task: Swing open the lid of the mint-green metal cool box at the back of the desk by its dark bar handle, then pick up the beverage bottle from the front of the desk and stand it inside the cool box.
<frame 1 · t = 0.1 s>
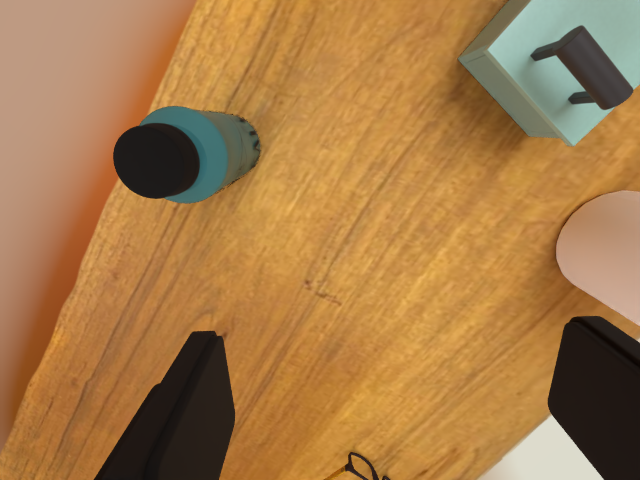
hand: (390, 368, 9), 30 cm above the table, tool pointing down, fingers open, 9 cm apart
beverage bottle: (236, 144, 37), on the table
lid: (623, 22, 24), point 10 cm above the table, hinge at 0.0°
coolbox: (543, 47, 33), on the table
can: (603, 239, 40), on the table
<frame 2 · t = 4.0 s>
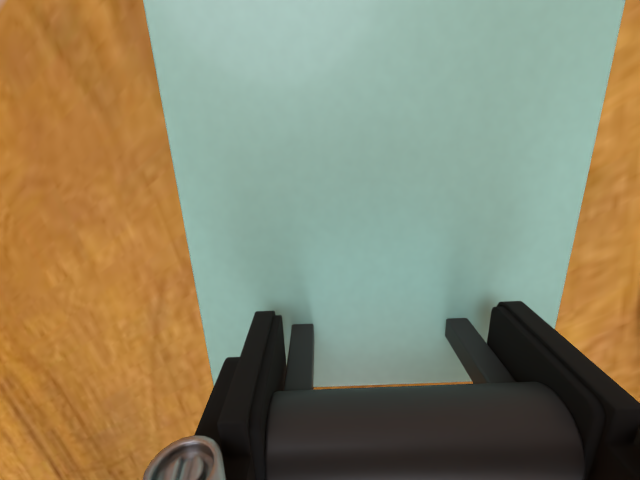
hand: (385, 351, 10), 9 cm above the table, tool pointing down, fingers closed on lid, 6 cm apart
lid: (397, 216, 8), point 10 cm above the table, hinge at 0.0°, touching gripper
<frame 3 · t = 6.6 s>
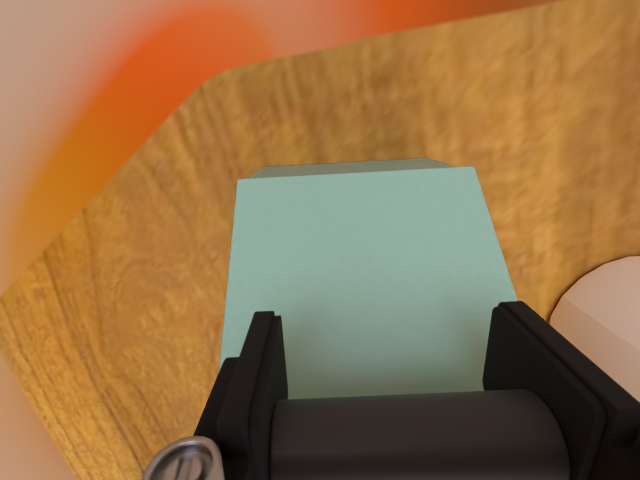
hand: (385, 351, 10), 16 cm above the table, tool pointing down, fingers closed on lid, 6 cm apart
lid: (375, 287, 11), point 14 cm above the table, hinge at 46.9°, touching gripper
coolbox: (346, 246, 26), on the table
can: (616, 319, 28), on the table
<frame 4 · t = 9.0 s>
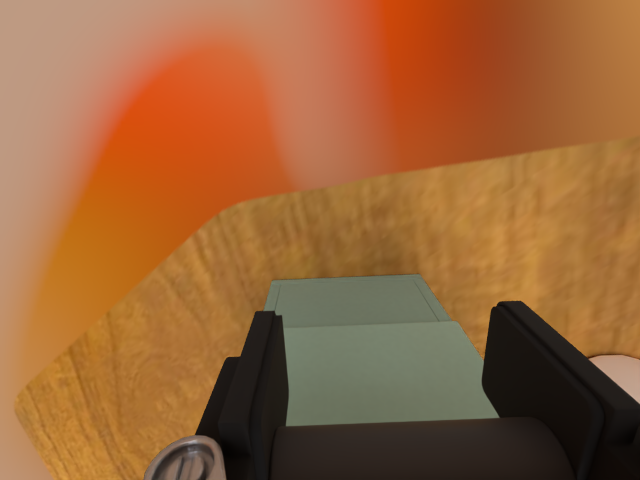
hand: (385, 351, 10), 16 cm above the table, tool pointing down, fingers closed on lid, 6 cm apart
lid: (376, 386, 12), point 14 cm above the table, hinge at 87.7°, touching gripper
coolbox: (347, 344, 28), on the table
can: (590, 405, 31), on the table
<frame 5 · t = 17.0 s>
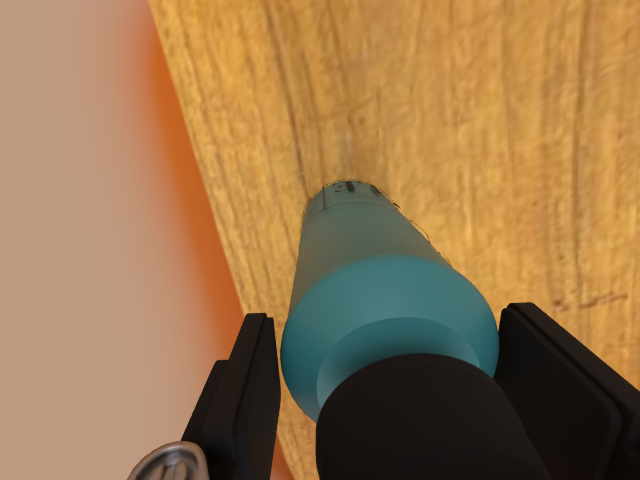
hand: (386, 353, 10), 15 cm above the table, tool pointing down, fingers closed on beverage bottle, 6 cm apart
beverage bottle: (346, 217, 24), on the table, touching gripper
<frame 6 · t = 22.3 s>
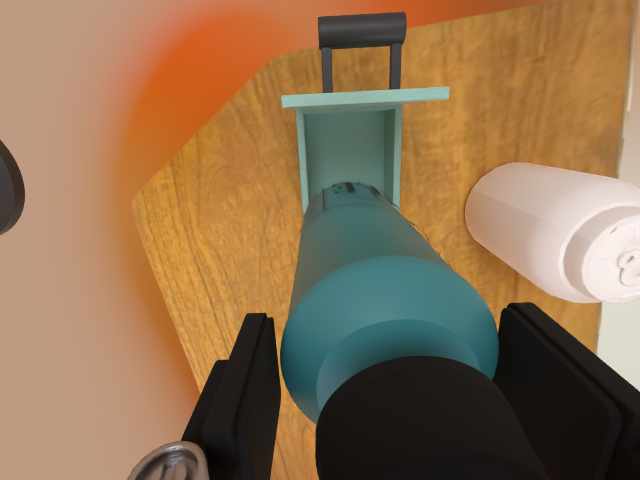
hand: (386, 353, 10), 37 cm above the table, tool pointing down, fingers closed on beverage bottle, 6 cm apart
beverage bottle: (346, 218, 24), point 22 cm above the table, touching gripper
lid: (355, 68, 28), point 14 cm above the table, hinge at 88.1°
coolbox: (345, 157, 44), on the table
can: (506, 206, 47), on the table
when the fingers open (16 cm above the table, at t = 27.6 s): beverage bottle stays where it is, resting on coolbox.
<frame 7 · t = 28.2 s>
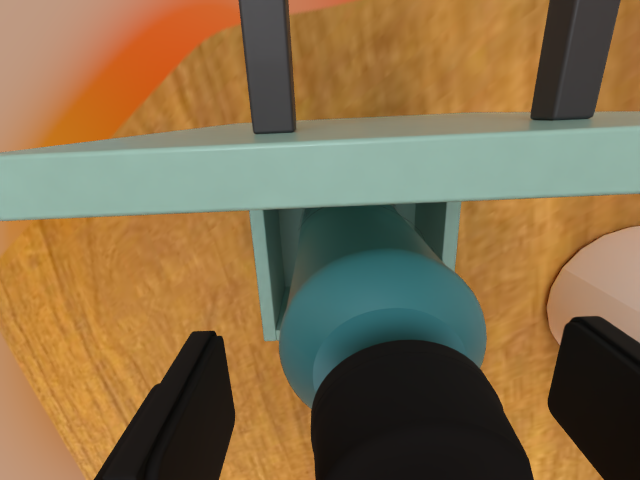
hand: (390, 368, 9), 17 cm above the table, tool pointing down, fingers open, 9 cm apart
beverage bottle: (344, 216, 25), point 1 cm above the table, touching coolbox
lid: (378, 40, 9), point 14 cm above the table, hinge at 88.1°
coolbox: (346, 213, 25), on the table
can: (616, 293, 28), on the table
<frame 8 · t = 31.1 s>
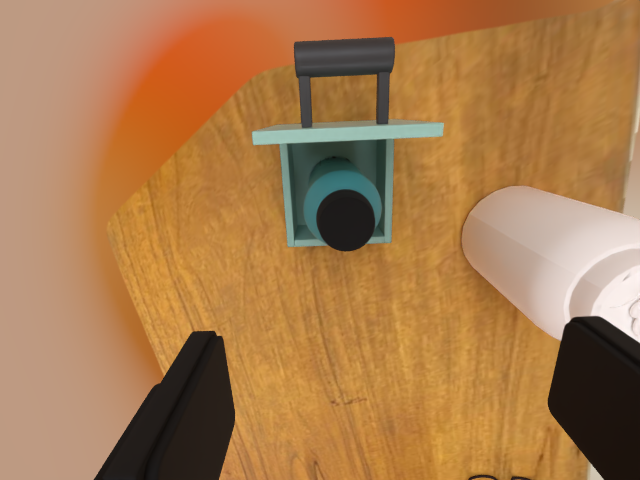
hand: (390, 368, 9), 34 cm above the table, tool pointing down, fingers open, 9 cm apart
beverage bottle: (334, 180, 41), point 1 cm above the table, touching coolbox
lid: (339, 94, 26), point 14 cm above the table, hinge at 88.1°
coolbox: (335, 179, 42), on the table
can: (505, 231, 44), on the table
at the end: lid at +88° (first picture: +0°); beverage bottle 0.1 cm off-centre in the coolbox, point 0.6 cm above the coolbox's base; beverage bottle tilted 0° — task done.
